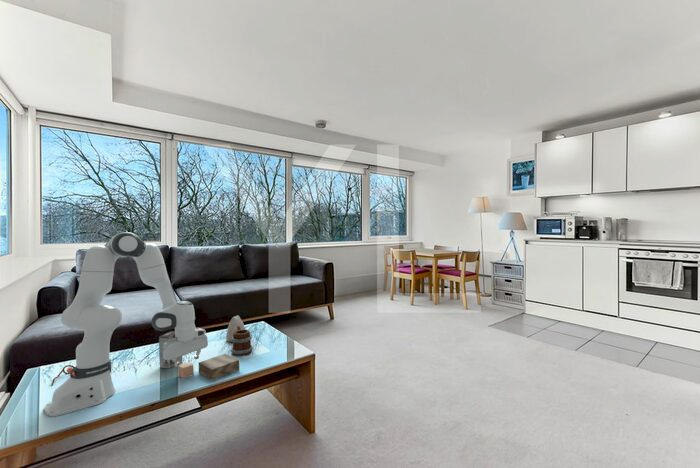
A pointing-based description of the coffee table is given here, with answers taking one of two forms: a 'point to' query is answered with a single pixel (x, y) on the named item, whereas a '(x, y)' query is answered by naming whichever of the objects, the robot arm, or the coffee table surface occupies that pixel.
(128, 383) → the coffee table surface
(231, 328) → the sculpture
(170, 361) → the coffee box
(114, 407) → the coffee table surface
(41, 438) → the coffee table surface
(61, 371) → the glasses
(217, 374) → the block
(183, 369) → the cube
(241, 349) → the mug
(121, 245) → the robot arm
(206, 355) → the coffee table surface
